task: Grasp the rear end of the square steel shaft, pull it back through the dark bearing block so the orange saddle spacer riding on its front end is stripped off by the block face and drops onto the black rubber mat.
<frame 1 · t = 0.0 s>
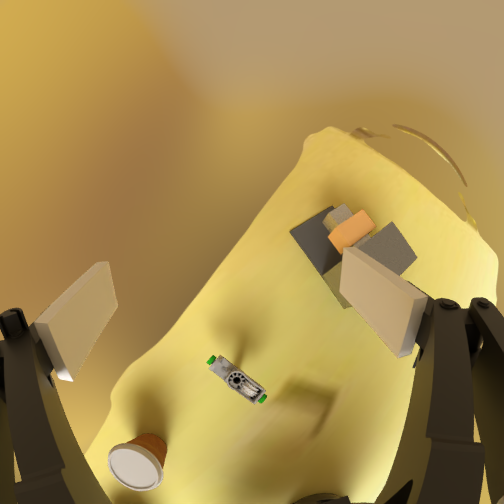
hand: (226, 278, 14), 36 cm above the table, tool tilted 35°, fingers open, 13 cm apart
spacer: (347, 236, 48), point 7 cm above the table, touching shaft
disposable coffee cup: (151, 446, 39), on the table
mechanical component: (235, 372, 45), on the table
shaft: (374, 269, 45), point 8 cm above the table, slide at 0.0 cm, touching spacer
bearing block: (353, 276, 53), on the table
mat: (328, 241, 55), on the table
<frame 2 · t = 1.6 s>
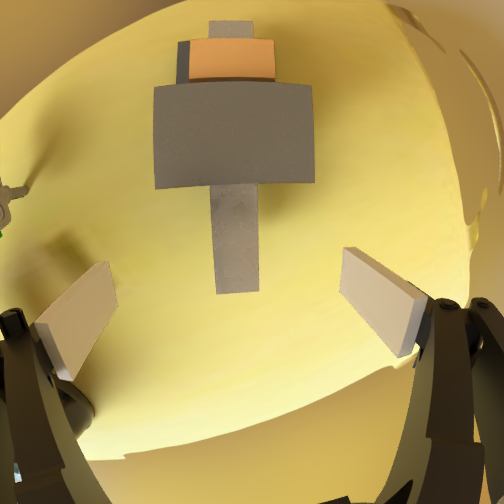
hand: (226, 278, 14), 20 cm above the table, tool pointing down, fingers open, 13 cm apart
spacer: (229, 74, 22), point 7 cm above the table, touching shaft
mechanical component: (25, 191, 28), on the table
shaft: (231, 149, 23), point 8 cm above the table, slide at 0.0 cm, touching spacer
bearing block: (226, 147, 31), on the table
mat: (225, 79, 28), on the table
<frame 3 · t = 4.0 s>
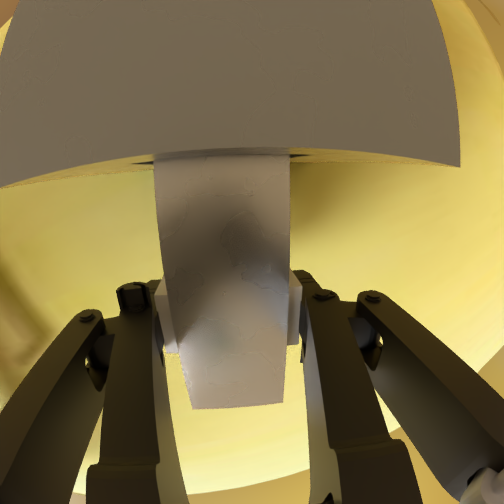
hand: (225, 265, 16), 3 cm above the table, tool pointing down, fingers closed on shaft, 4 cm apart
shaft: (219, 82, 8), point 8 cm above the table, slide at 0.0 cm, touching gripper, spacer
bearing block: (219, 105, 16), on the table
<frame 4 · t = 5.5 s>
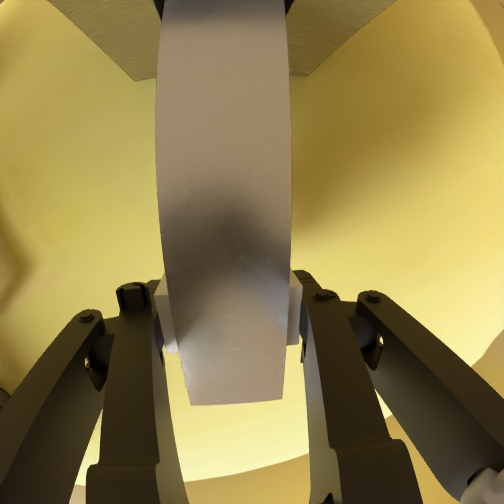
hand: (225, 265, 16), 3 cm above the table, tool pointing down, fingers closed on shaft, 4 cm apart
shaft: (222, 76, 8), point 8 cm above the table, slide at 6.3 cm, touching gripper
bearing block: (221, 27, 14), on the table
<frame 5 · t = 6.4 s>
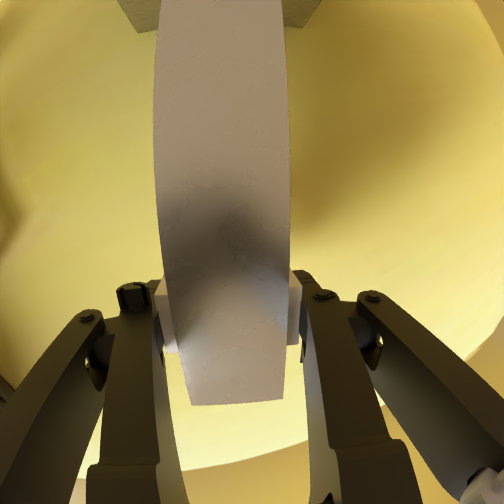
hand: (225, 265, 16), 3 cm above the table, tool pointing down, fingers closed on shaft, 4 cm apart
shaft: (220, 76, 8), point 8 cm above the table, slide at 10.6 cm, touching gripper
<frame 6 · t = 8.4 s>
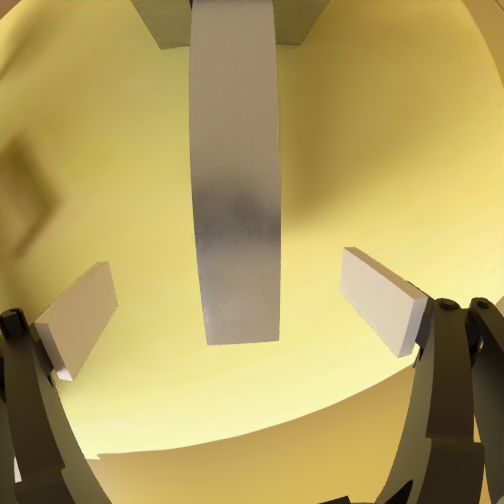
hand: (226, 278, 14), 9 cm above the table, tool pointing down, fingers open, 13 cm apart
shaft: (232, 98, 12), point 8 cm above the table, slide at 10.7 cm
bearing block: (230, 9, 16), on the table
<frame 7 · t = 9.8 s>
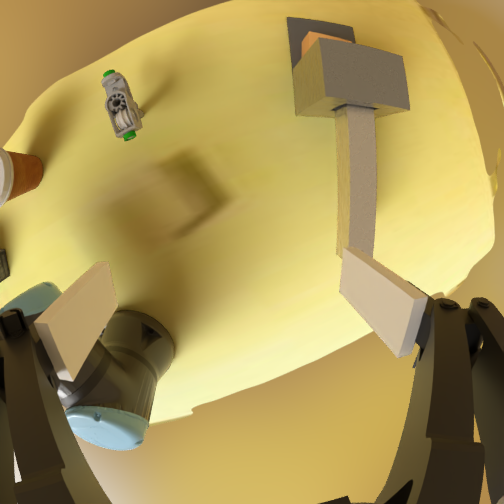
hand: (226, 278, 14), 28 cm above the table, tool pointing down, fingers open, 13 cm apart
spacer: (322, 55, 34), resting on mat
disposable coffee cup: (32, 172, 35), on the table
mechanical component: (139, 115, 35), on the table
shaft: (356, 164, 33), point 8 cm above the table, slide at 10.7 cm
bearing block: (329, 94, 37), on the table
mat: (324, 48, 34), on the table
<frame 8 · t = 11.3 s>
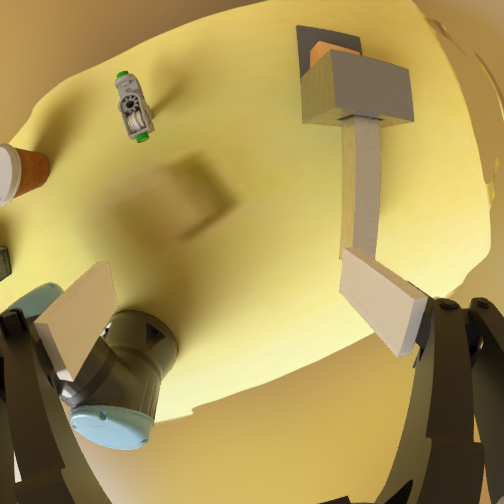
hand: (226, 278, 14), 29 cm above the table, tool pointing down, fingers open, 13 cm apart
spacer: (329, 64, 36), resting on mat
disposable coffee cup: (38, 170, 35), on the table
mechanical component: (149, 117, 36), on the table
shaft: (361, 172, 34), point 8 cm above the table, slide at 10.7 cm
bearing block: (336, 103, 38), on the table
mat: (332, 57, 35), on the table
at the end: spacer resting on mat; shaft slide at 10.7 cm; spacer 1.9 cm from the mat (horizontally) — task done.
